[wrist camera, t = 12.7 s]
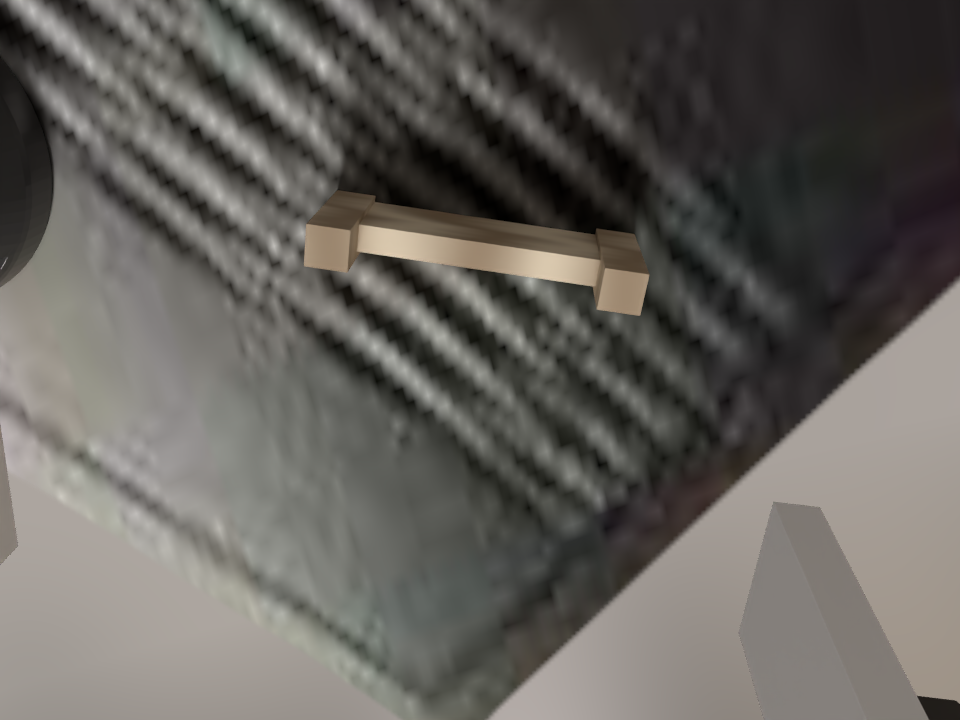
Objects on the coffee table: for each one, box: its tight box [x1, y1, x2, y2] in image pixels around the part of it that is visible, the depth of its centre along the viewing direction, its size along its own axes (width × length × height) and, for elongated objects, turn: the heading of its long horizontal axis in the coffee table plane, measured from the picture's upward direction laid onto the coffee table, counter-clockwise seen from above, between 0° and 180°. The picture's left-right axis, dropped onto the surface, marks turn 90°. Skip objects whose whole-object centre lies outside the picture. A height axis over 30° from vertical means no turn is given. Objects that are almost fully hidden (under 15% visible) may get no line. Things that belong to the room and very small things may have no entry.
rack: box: [304, 190, 649, 316], centre depth 35 cm, size 14×21×6 cm, turn 172°
